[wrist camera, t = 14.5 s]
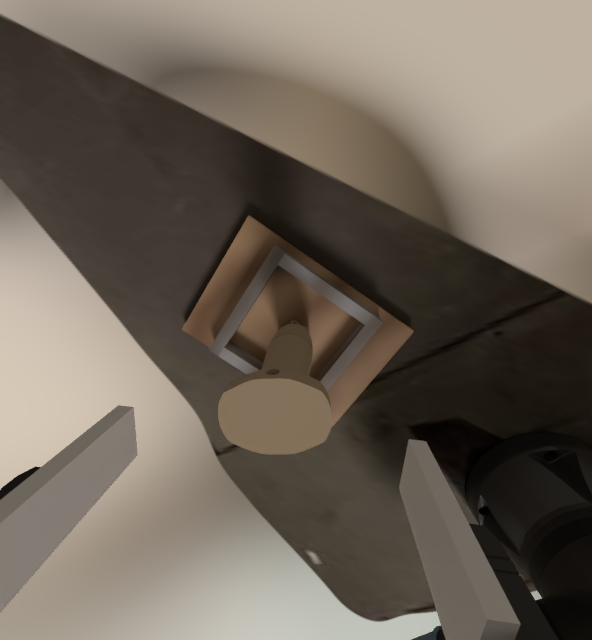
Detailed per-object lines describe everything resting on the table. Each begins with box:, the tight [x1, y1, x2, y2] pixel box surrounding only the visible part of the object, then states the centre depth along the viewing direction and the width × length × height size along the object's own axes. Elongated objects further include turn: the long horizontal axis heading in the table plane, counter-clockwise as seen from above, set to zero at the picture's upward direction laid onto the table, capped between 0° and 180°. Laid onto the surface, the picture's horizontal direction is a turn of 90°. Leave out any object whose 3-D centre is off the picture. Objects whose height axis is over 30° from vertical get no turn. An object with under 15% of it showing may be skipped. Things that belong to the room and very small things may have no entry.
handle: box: [218, 320, 332, 454], centre depth 24 cm, size 5×6×15 cm
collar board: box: [182, 215, 414, 427], centre depth 30 cm, size 20×14×3 cm
